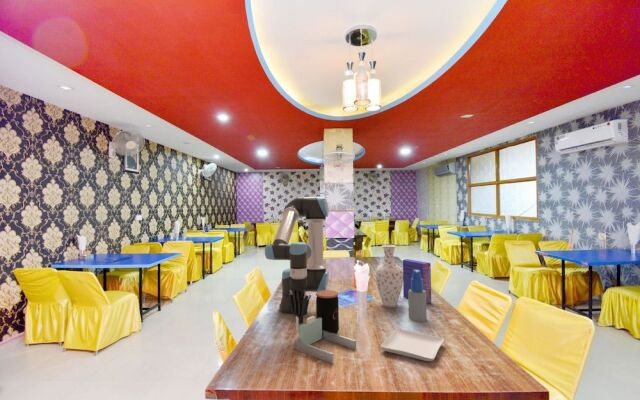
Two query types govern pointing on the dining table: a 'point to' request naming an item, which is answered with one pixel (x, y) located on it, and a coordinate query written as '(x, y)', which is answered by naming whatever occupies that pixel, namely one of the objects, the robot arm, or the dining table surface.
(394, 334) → the salad plate
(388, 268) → the vase
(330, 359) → the open-ended rimmed tray
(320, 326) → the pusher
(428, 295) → the cereal box
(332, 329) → the coffee jar
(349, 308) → the dining table surface
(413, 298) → the spray bottle
